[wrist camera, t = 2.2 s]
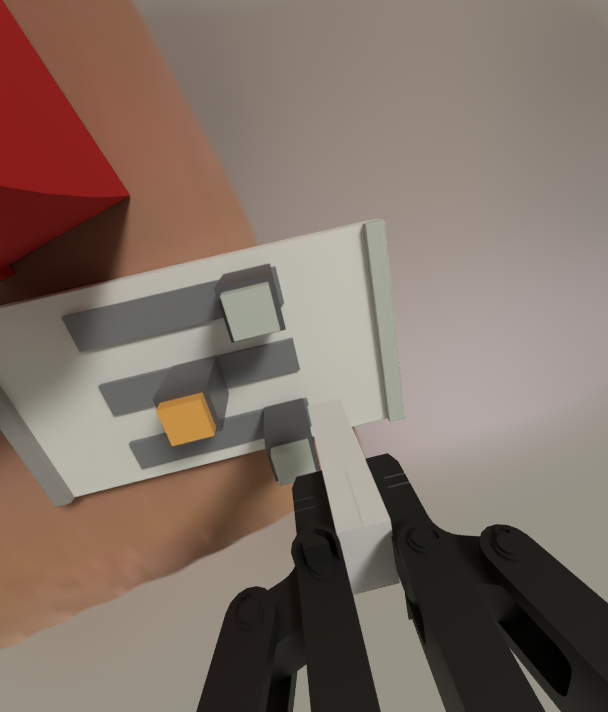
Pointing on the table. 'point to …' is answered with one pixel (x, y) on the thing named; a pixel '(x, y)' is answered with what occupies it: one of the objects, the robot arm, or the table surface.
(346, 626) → the robot arm
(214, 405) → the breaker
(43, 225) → the red rectangular box
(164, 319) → the white slider panel
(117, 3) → the table surface
